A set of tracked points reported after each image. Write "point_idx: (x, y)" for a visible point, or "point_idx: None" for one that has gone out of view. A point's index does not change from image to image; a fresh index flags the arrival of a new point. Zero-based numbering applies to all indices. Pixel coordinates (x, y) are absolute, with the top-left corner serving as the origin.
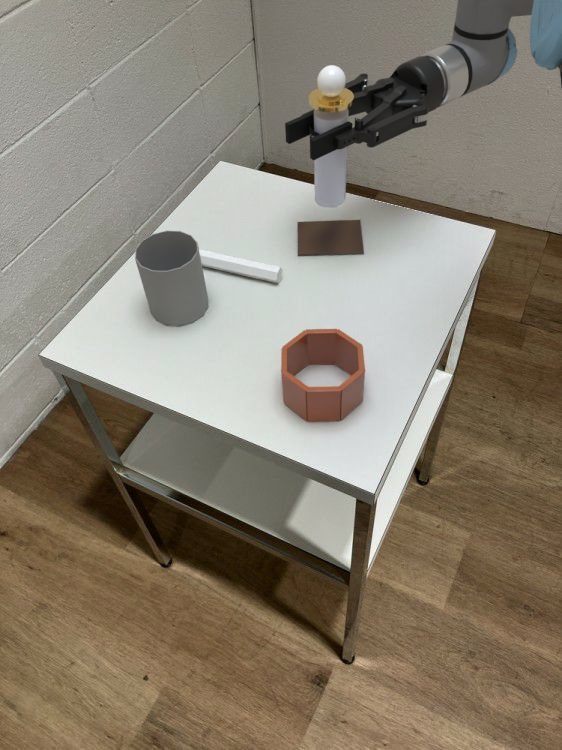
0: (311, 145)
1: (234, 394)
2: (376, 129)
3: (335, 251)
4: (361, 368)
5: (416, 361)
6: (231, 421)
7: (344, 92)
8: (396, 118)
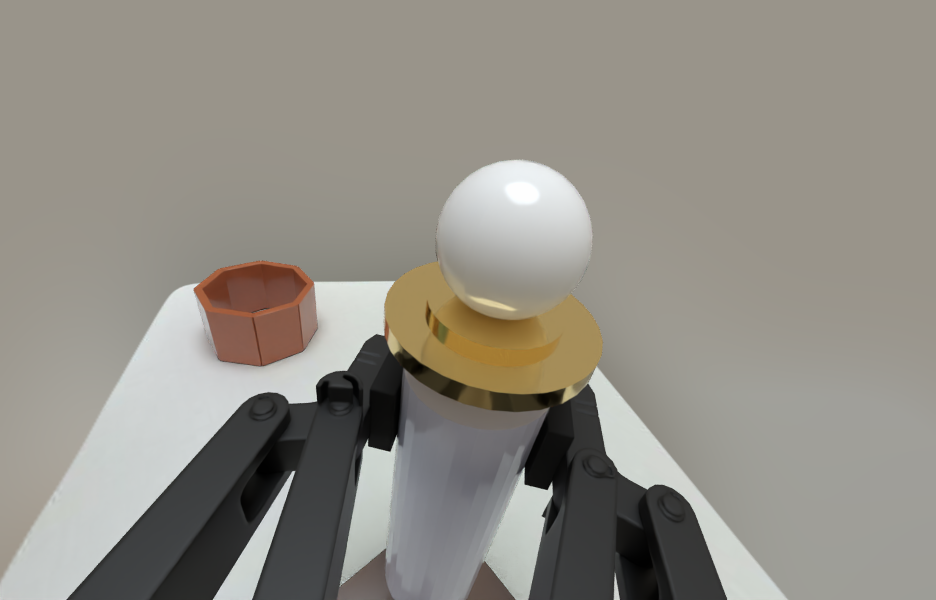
0: None
1: (356, 302)
2: (236, 410)
3: (374, 565)
4: (199, 289)
5: (122, 413)
6: (341, 286)
7: (461, 333)
8: (101, 580)
